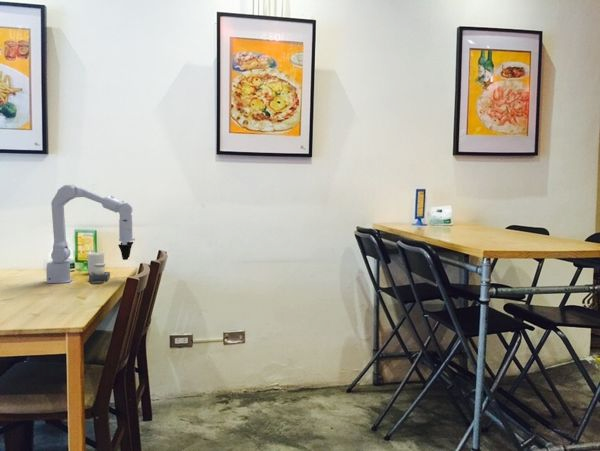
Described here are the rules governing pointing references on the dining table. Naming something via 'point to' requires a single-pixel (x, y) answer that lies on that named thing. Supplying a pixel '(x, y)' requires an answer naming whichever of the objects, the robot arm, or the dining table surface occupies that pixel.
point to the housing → (99, 277)
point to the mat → (97, 282)
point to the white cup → (94, 260)
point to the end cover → (99, 268)
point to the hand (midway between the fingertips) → (126, 258)
